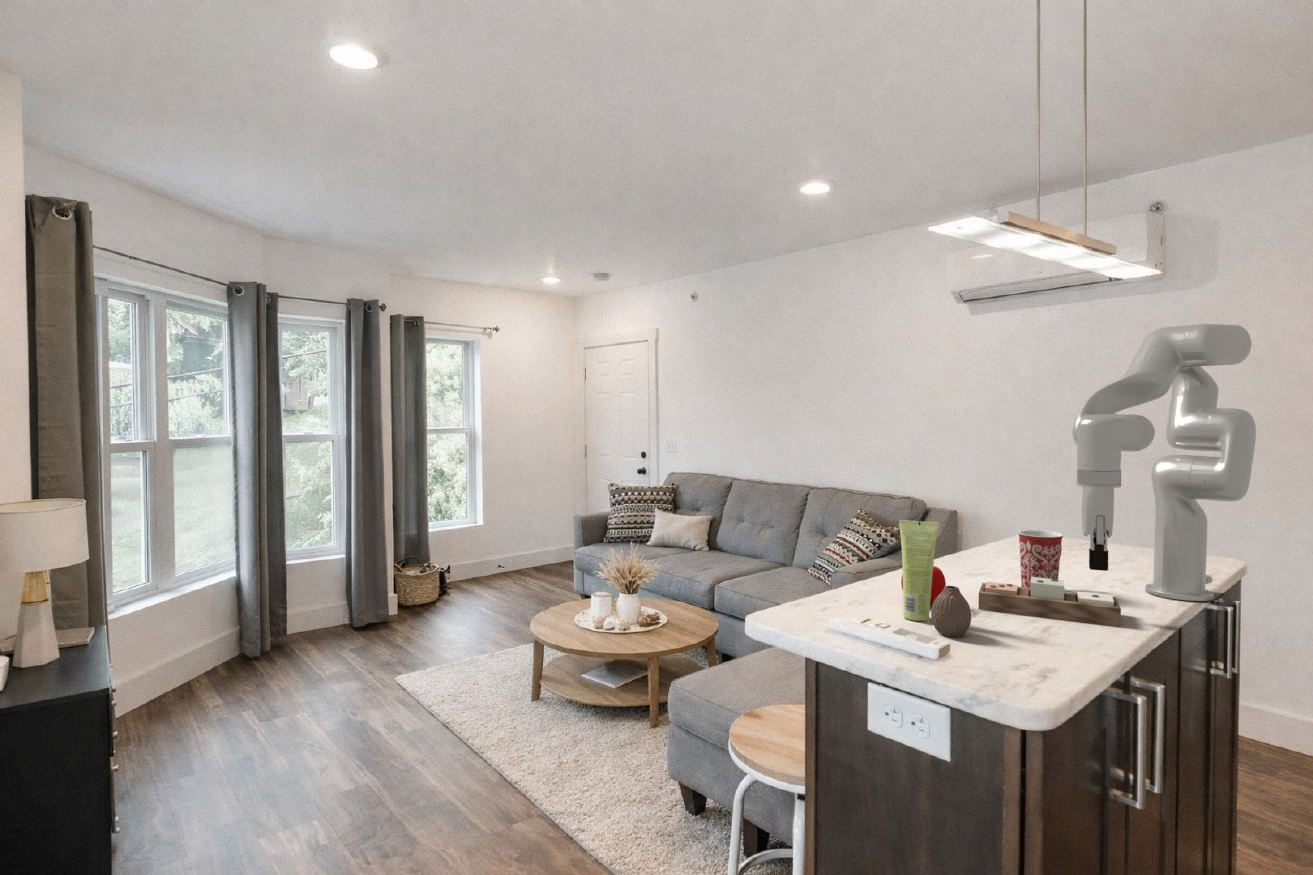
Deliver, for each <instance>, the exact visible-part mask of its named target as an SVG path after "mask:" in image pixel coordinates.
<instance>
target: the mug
mask: <svg viewBox="0 0 1313 875" xmlns="http://www.w3.org/2000/svg"><path fill="white" fill-rule="evenodd" d="M1017 534H1018V538H1019V539H1018V541H1019V543H1018V544H1019V557H1020V558H1019V562H1020V563H1019V564H1020V566H1019V567H1020V587H1027V588H1030V586H1031V577H1038V578H1048V579H1058V580H1059V574H1060V565H1061V564H1060V563H1061V562H1060V561H1061V556H1062V549H1063V548H1062V547H1063V546H1062V541H1063V537H1064V534H1062V533H1059V532H1056V531H1049V530H1039V529H1027V530H1026V529H1025V530H1020V531H1018V533H1017Z"/></svg>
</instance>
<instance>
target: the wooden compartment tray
mask: <svg viewBox="0 0 1313 875" xmlns="http://www.w3.org/2000/svg"><path fill="white" fill-rule="evenodd" d="M986 583H987V582H982V583H981V586H980V588H979V591H978V605H977V606H978V610H982V611H983V610H984V611H991V612H997V613H1004V614H1015V615H1023V616H1029V617H1038V618H1047V619H1056V620H1063V621H1069V622H1071V621H1072V622H1078V623H1087V624H1095V625H1104V626H1112V627H1119V628H1121V622H1122V621H1121V620H1122V619H1121V618H1122V608H1121V605H1120V603H1119V600H1118V597H1117V596H1112V597H1113V600H1114V606H1109V605H1100V604H1091V603H1082V602H1077V592H1071V591H1065V590H1064V600H1055V599H1046V598H1038V597H1030V588H1027V587H1021V586H1018V595H1011V594H1002V593H993V592H985V586H986Z"/></svg>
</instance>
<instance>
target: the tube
mask: <svg viewBox="0 0 1313 875" xmlns="http://www.w3.org/2000/svg"><path fill="white" fill-rule="evenodd" d="M898 525H899V526H898V527H899V533H900V534H899V535H900V542H901V543H900V544H901V559H902V561H901V562H902V574H903V590H902V616H903V617H904V619H907V620H910V621H914V622H916V621H917V622H925V621H926V622H927V621H929V620H930V615H931V612H930V611H931V608H930V607H931V605H930V599H931V585H932V574H933V566H934V564H935V563H934V561H935V556H936V555H935V553H936V546H937V538H938V533H939V528H940V522H937V521H935V522H934V521H933V522H932V521H920V520H918V521H917V520H907V519H899V520H898Z"/></svg>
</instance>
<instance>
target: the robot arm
mask: <svg viewBox="0 0 1313 875" xmlns="http://www.w3.org/2000/svg"><path fill="white" fill-rule="evenodd" d="M1251 349H1252V338H1251V336H1250V334H1249V332H1248V330H1247V329H1245V328H1244V327H1243V326H1241V325H1240V324H1239V325H1237V324H1220V323H1218V324H1217V323H1201V324H1200V323H1199V324H1190V325H1189V324H1187V325H1175V326H1167V327H1166V326H1165V327H1160V328H1157V329H1155V330H1152V331H1151V332H1149V333H1148V334H1147V335H1146V336H1145V338H1144V339H1143V342H1142V343H1141V345H1140V347H1139V349H1138V350H1137V352H1136V353H1135V356H1134V358H1133V359H1132V361H1131V363H1130V365H1129V366H1128V368H1127V370H1126V372H1125V373H1124V374H1123V375H1122V376H1120V377H1118V378H1116V379H1115V380H1112V381H1111V382H1109V383H1107V384H1106V385H1104V386H1102V387H1101V388H1100V389H1098V390H1096V391H1095V392H1094V393H1092V394H1091V395H1090V396H1089V397H1087V399H1086V401H1085V402H1084V403H1083V405H1082V407H1081V409H1080V411H1078V412H1079V413H1078V414H1077V416H1076V418H1075V420H1074V422H1073V426H1072V434H1071V435H1072V439H1073V441H1074V443H1075V444H1076V452H1077V453H1076V454H1077V455H1076V467H1077V468H1076V486H1078V487H1082V495H1081V497H1082V498H1081V499H1082V500H1081V501H1082V502H1081V531H1082V532H1081V533H1082V534H1083V536H1084V537H1085V538H1086V537H1088V535H1090V536H1089V538H1090V539H1089V540H1090V544H1089V546H1090V548H1089V549H1088V568H1089V569H1090V571H1091V570H1092V571H1103V572H1104V571H1105V572H1107V571H1109V549H1108V539H1109V538H1111V537H1112V536H1113V529H1114V516H1115V510H1114V509H1115V489H1117V488H1121V487H1122V452H1130V453H1131V452H1139V451H1143V450H1145V449H1147V448H1148V447H1149V446H1150V445H1151V444H1152V443H1153V441H1154V439H1155V432H1156V431H1155V427H1154V424H1153V423H1152V421H1151V420H1150V419H1148V418H1147V417H1145V416H1143V415H1139V414H1129V413H1128V414H1125V413H1122V414H1117V413H1118V412H1119V413H1120V412H1121V411H1124V410H1126V409H1130V408H1133V407H1137V406H1141V405H1144V404H1147V403H1150V402H1153V401H1155V400H1158V399H1161V398H1162V397H1163V396H1165V395H1166V394H1168V392H1169V390H1170V389H1171V397H1170V404H1169V408H1168V409H1169V410H1168V417H1167V424H1166V432H1165V434H1166V441H1167V443H1168V445H1170V446H1171V447H1172V448H1175V449H1179V450H1184V451H1199V452H1200V451H1201V452H1219V453H1220V452H1221V456H1208V455H1207V456H1206V455H1203V456H1202V455H1192V454H1191V455H1189V454H1171V455H1166V456H1162V457H1160V458H1158V459H1156V461H1155V462H1154V463H1153V465H1152V467H1151V474H1150V476H1151V483H1152V488H1153V494H1154V503H1155V504H1154V506H1155V512H1154V513H1155V514H1154V516H1155V519H1154V521H1155V522H1154V554H1153V583H1152V582H1151V583H1148V584H1145V587H1144V590H1145V591H1146V592H1147V593H1149V594H1151V595H1153V596H1157V597H1162V598H1166V599H1171V600H1179V601H1188V602H1189V601H1190V602H1208V601H1212V600H1214V599H1215V594H1214V592H1212V591H1210V590H1208V589H1206V585H1208V584H1209V585H1210V584H1211V583H1212V582H1213V581H1214V579H1213V577H1212V576H1211V575H1209V574H1207V553H1208V552H1207V551H1208V550H1207V548H1208V547H1207V546H1208V518H1207V514H1206V513H1205V511H1204V509H1203V508H1202V507H1201V505H1200V504H1199V502H1198V501H1197V500H1206V501H1218V502H1229V503H1230V502H1237V501H1241V500H1243V498H1244V497H1245V496H1246V495H1247V493H1248V490H1249V487H1250V481H1251V476H1252V475H1251V474H1252V470H1253V469H1252V468H1253V463H1254V462H1253V461H1254V454H1255V446H1256V438H1257V437H1256V436H1257V428H1256V422H1255V419H1254V417H1253V416H1252V414H1251V413H1250V412H1248V411H1247V410H1245V409H1240V408H1233V407H1232V408H1228V407H1226V408H1224V407H1219V408H1218V407H1217V406H1218V397H1219V386H1218V384H1217V382H1216V380H1214V378H1213V377H1212V376H1211V375H1210V374H1209V373H1208V372H1207V371H1206V370H1205V369H1204V368H1203V367H1209V366H1210V367H1211V366H1212V367H1213V366H1234V365H1239V364H1241V363H1243V362H1244V361H1245V360H1246V359H1247V358H1248V356H1249V355H1250V353H1251Z"/></svg>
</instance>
